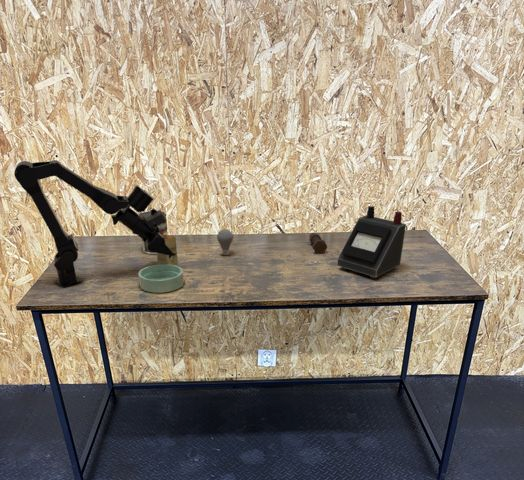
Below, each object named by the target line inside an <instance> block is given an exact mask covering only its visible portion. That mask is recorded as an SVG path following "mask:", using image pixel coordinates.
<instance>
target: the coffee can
mask: <svg viewBox="0 0 524 480" xmlns="http://www.w3.org/2000/svg"><path fill="white" fill-rule="evenodd" d="M162 213H163V215H164V217H165V218H166V219H167V213H166V212H165V211H162ZM138 215H140V216H142V217H143V216H144V217H145V218H147V217H149V215H150V210H149V211H144V212H140V213H139V214H138ZM167 223H168V222H167V221H166V222H165V223H162V224H160V225H159V226H158V228H159V233H160V234H161V235H162V236H163V235H168V236H169V233H168V224H167ZM147 241H148V240H146V242H147ZM146 242H144V241H143V240H142V239H141V244H142V252H143V253H145V254H148V255H157V253H152V252H150V251H149V250H148V249H147V246H146Z"/></svg>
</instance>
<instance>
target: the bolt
mask: <svg viewBox="0 0 524 480" xmlns="http://www.w3.org/2000/svg"><path fill="white" fill-rule="evenodd" d="M308 240H309V242H310V244H311V245H312V246H311V247H312V249H313V251H314V252H315V254H316V255H317V254H318V255H319V254H320V255H321V254H324V253H325V252H326V250H327V249H328V245H327V243H326V241H325V240H324V239H322V238H321V235H320V234H319V233H315V232H314V233H313V232H312V233H310V234H309V239H308Z"/></svg>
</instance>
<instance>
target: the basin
mask: <svg viewBox="0 0 524 480" xmlns="http://www.w3.org/2000/svg"><path fill="white" fill-rule="evenodd" d="M138 281H139V287H140V289H141V290H143V291H145V292H149V293H154V294H162V293H163V294H164V293H170V292H173V291H176V290H179V289H180V288H182V287H183V286H184V285H185V281H184V271H183V268H182V267H180V266H179V265H178V266H176V265H170V264H159V265H158V264H153V265H152V264H151V265H149V266H146V267H143V268H142V269H140V270H139V271H138Z"/></svg>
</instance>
